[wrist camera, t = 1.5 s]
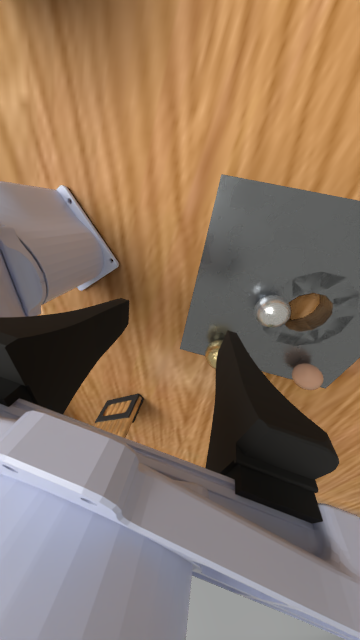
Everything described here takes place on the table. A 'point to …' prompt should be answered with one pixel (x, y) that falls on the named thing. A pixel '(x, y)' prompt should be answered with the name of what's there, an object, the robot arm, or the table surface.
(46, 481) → the robot arm
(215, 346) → the brass ball
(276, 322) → the steel ball
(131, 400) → the ammunition clip
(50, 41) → the table surface
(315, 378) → the terracotta ball
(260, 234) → the hole plate
